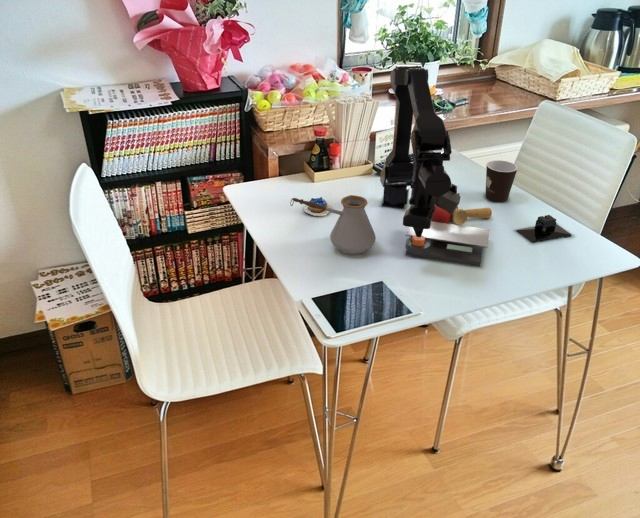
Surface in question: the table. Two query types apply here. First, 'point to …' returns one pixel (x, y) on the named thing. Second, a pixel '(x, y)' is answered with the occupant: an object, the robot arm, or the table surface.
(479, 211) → the kendama
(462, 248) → the scale display
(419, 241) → the button
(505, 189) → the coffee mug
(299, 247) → the table surface
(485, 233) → the pan
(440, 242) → the scale
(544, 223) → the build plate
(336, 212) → the coffee pot
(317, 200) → the dessert
